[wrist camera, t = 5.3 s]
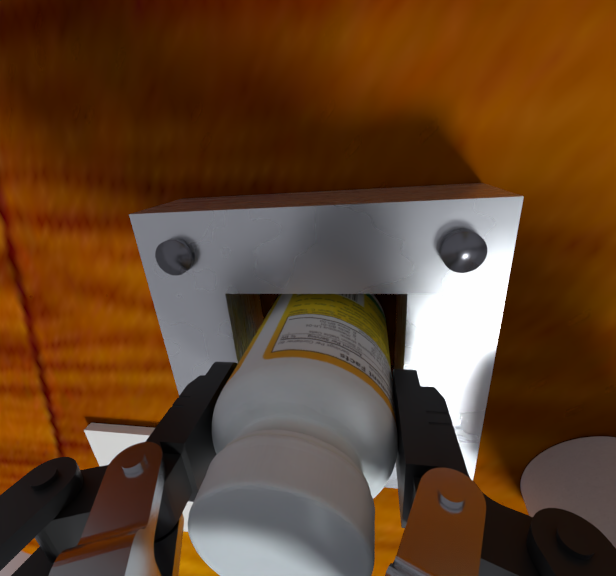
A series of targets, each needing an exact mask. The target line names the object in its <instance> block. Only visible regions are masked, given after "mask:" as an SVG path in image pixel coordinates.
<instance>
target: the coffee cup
mask: <svg viewBox="0 0 616 576" xmlns="http://www.w3.org/2000/svg"><path fill="white" fill-rule="evenodd" d="M520 487H521V493H522V496H523V499H524V502H525V505H526V507H527V510H528V513H529V516H531V517H533V516H534V515H535V513H537V512H538V511H539V510H542V509H545V508H558V509H563V510H567V511H569V512H572V513H574V514H576V515H578V516H580V517H582V518H584V519H585V520H587V521H588V522H590V523H591V524H593V525H594V526H595V527H596V528H598V529H599V530H600V531H601V532H602V533H603V534H604V535H605V536H606V537H607V539H608V540H609V541H610V542H611V543H612V545H613V546H614V547H615V548H616V437H608V436H595V437H584V438H578V439H573V440H569V441H566V442H563V443H560V444H557V445H555V446H553V447H551V448H549V449H547V450H545V451H543V452H542V453H540V454H539V455H538V456H536V457H535V458H534V459H533V460H532V461H531V462H530V463H529V464H528V466H527V467H526V469H525V470H524V472H523V474H522V477H521V483H520Z"/></svg>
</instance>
